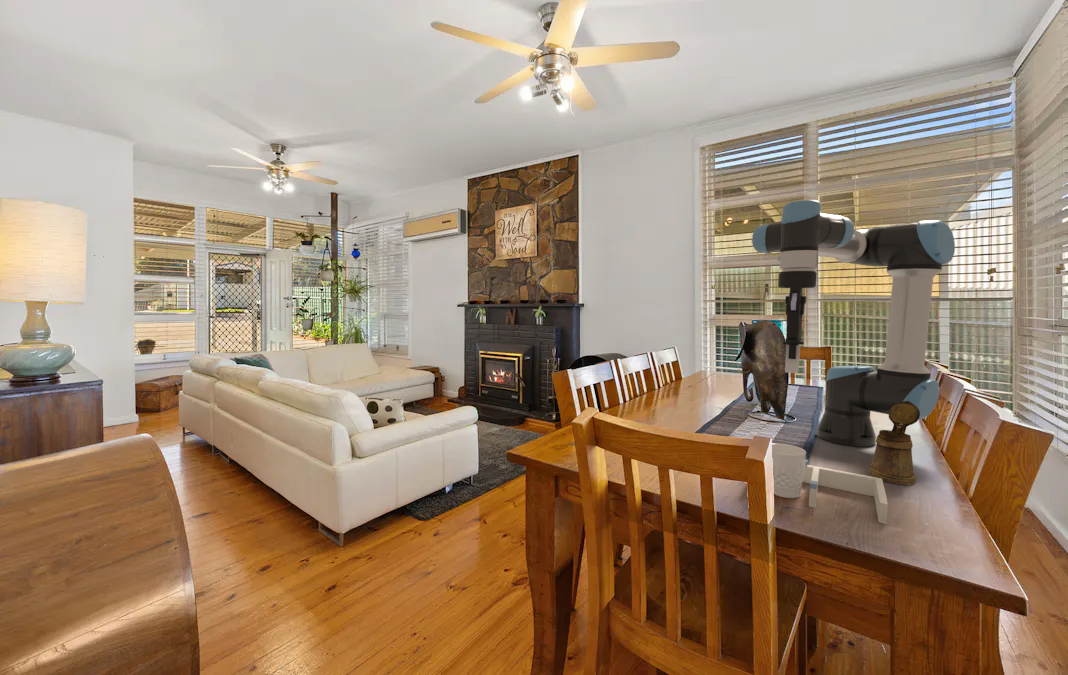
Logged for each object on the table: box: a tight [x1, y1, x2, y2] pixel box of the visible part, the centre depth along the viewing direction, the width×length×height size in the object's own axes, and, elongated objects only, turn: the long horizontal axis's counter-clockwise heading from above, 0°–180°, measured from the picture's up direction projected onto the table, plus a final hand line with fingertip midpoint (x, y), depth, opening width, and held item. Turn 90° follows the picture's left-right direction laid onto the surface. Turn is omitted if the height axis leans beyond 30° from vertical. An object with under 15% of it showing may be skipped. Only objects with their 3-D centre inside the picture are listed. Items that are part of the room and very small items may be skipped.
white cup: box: [771, 443, 807, 499], centre depth 101 cm, size 8×8×10 cm
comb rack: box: [802, 459, 889, 525], centre depth 100 cm, size 15×25×5 cm, turn 56°
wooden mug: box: [869, 401, 920, 486], centre depth 110 cm, size 9×14×18 cm, turn 127°
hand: (791, 372), depth 105 cm, fingers closed
